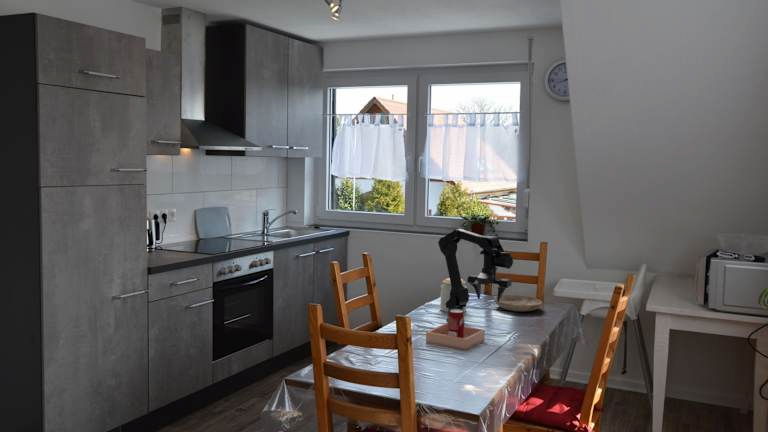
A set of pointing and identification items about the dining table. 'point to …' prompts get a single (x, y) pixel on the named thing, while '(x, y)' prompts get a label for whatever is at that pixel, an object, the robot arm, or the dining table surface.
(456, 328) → the soda can
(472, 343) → the terracotta tray
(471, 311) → the dining table surface
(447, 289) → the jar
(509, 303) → the ceramic bowl
